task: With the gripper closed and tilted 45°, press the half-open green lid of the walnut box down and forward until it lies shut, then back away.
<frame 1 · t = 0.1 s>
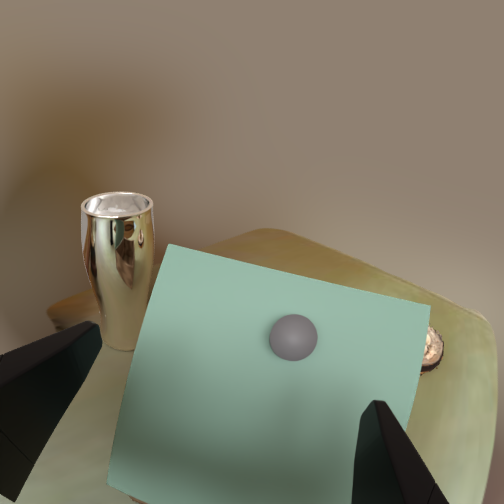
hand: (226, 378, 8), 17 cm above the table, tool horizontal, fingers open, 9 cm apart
lid: (268, 421, 12), point 12 cm above the table, hinge at 45.0°
beer glass: (126, 333, 30), on the table
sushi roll: (401, 347, 36), on the table
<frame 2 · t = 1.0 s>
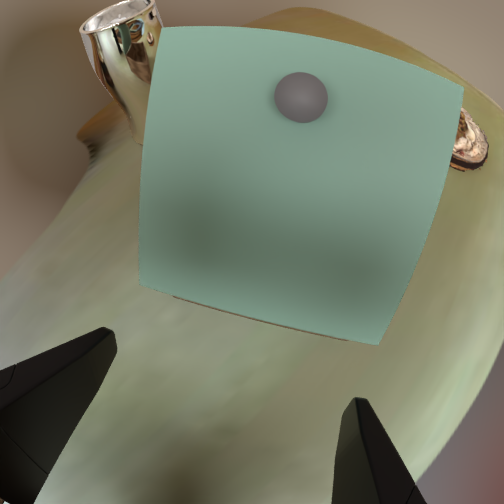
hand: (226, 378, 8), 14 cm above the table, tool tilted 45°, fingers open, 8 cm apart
lid: (284, 190, 12), point 12 cm above the table, hinge at 45.0°
beer glass: (157, 127, 30), on the table
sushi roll: (445, 136, 30), on the table
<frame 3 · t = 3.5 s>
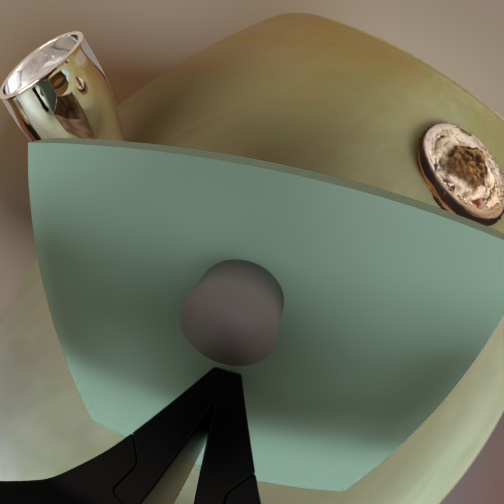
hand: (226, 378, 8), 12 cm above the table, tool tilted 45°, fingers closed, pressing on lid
lid: (222, 400, 8), point 12 cm above the table, hinge at 44.8°, touching gripper
beer glass: (118, 181, 26), on the table
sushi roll: (460, 180, 25), on the table
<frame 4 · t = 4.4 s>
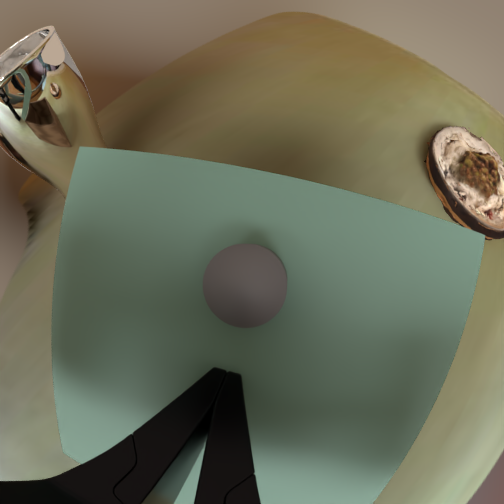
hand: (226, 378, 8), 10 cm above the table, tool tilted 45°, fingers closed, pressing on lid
lid: (220, 404, 8), point 10 cm above the table, hinge at 23.0°, touching gripper
beer glass: (99, 190, 23), on the table
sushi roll: (470, 188, 23), on the table
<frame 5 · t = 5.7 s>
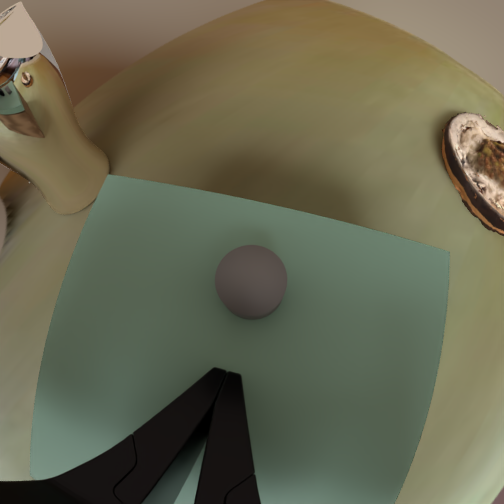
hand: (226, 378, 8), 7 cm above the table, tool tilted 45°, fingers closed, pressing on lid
lid: (218, 410, 8), point 7 cm above the table, hinge at 0.9°, touching gripper
beer glass: (79, 182, 20), on the table
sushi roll: (487, 180, 20), on the table
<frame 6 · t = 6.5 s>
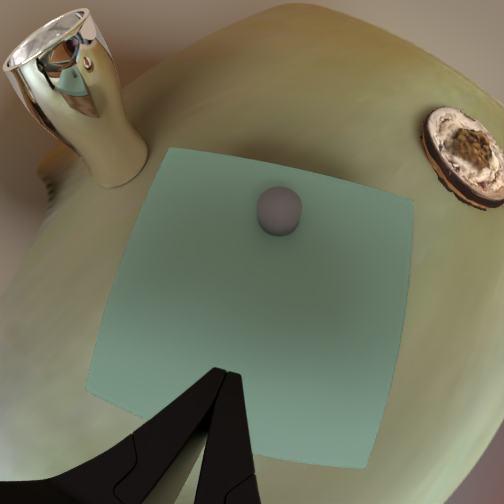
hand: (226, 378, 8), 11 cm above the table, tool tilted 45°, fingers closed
lid: (257, 297, 13), point 7 cm above the table, hinge at 0.8°
beer glass: (119, 162, 25), on the table
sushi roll: (464, 163, 25), on the table
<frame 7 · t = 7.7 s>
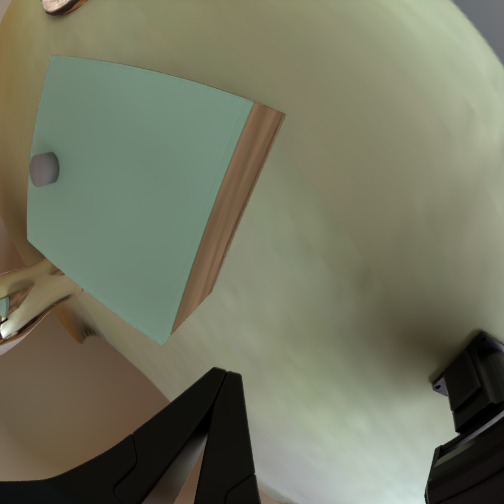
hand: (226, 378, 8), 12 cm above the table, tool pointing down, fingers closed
lid: (86, 190, 14), point 7 cm above the table, hinge at 0.8°
walnut box: (161, 171, 20), on the table
beer glass: (68, 271, 29), on the table
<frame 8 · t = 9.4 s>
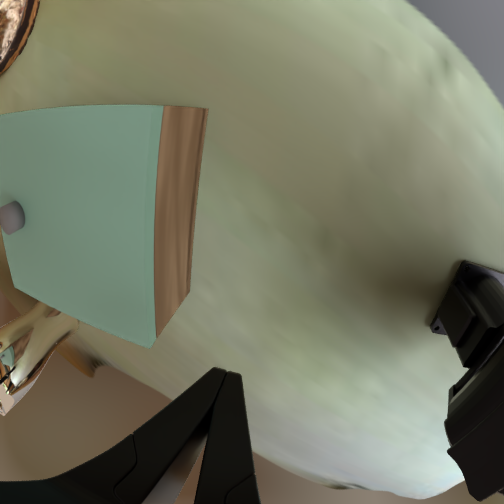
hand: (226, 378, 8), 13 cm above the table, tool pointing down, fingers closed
lid: (50, 225, 15), point 7 cm above the table, hinge at 0.8°
walnut box: (115, 193, 21), on the table
beer glass: (62, 311, 30), on the table
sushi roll: (13, 27, 16), on the table
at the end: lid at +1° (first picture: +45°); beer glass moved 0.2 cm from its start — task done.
